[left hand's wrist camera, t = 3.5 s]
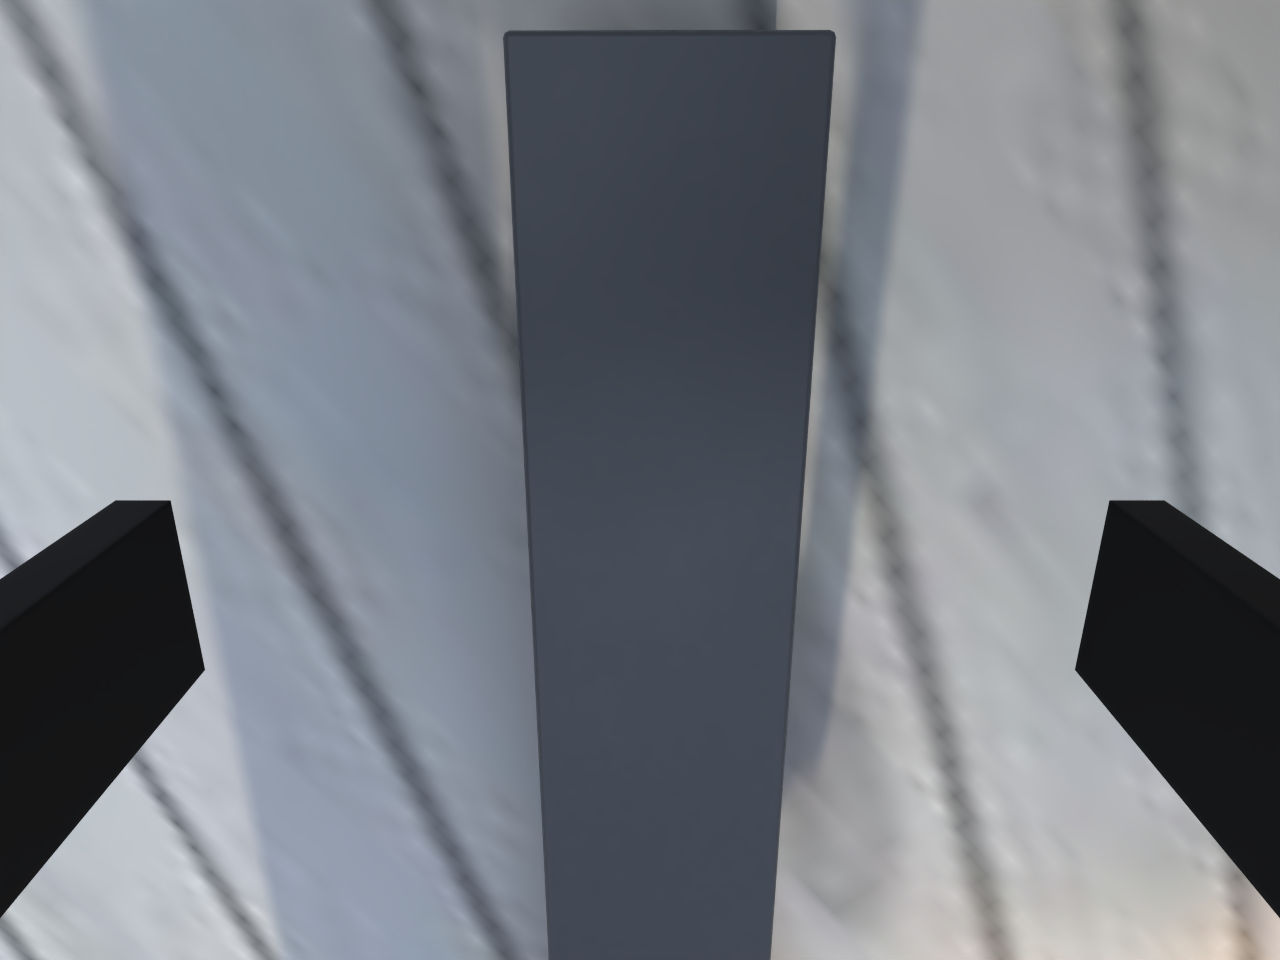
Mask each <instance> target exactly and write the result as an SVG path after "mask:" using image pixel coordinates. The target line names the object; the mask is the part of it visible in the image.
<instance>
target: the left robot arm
mask: <svg viewBox="0 0 1280 960" xmlns="http://www.w3.org/2000/svg"><path fill="white" fill-rule="evenodd" d="M204 670H205V668H204V663H203V658H202V653H201V648H200V643H199V638H198V633H197V628H196V623H195V619H194V614H193V609H192V604H191V599H190V594H189V589H188V584H187V579H186V574H185V569H184V565H183V560H182V555H181V550H180V545H179V540H178V535H177V530H176V525H175V520H174V515H173V511H172V506H171V501H114V502H113V503H111V504H110V505H108V506H107V507H105V508H104V509H103V510H101V511H100V512H98V513H97V514H95V515H94V516H92V517H91V518H89V519H88V520H86V521H85V522H83V523H82V524H81V525H79V526H78V527H76V528H75V529H73V530H72V531H70V532H69V533H67V534H66V535H64V536H63V537H62V538H60V539H59V540H57V541H56V542H54V543H53V544H51V545H50V546H48V547H47V548H45V549H44V550H42V551H41V552H40V553H38V554H37V555H35V556H34V557H32V558H31V559H29V560H28V561H26V562H25V563H23V564H22V565H21V566H19V567H18V568H16V569H15V570H13V571H12V572H10V573H9V574H7V575H6V576H4V577H3V578H1V579H0V918H1V916H2V915H3V914H4V913H5V912H6V910H7V909H8V908H9V907H10V905H11V904H12V903H13V902H14V901H15V899H16V898H17V897H18V896H19V895H20V893H21V892H22V891H23V890H24V889H25V887H26V886H27V885H28V884H29V882H30V881H31V880H32V879H33V878H34V876H35V875H36V874H37V873H38V872H39V870H40V869H41V868H42V867H43V865H44V864H45V863H46V862H47V861H48V859H49V858H50V857H51V856H52V855H53V853H54V852H55V851H56V850H57V849H58V847H59V846H60V845H61V844H62V842H63V841H64V840H65V839H66V838H67V836H68V835H69V834H70V833H71V832H72V830H73V829H74V828H75V827H76V825H77V824H78V823H79V822H80V821H81V819H82V818H83V817H84V816H85V815H86V813H87V812H88V811H89V810H90V809H91V807H92V806H93V805H94V804H95V802H96V801H97V800H98V799H99V798H100V796H101V795H102V794H103V793H104V792H105V790H106V789H107V788H108V787H109V785H110V784H111V783H112V782H113V781H114V779H115V778H116V777H117V776H118V775H119V773H120V772H121V771H122V770H123V769H124V767H125V766H126V765H127V764H128V762H129V761H130V760H131V759H132V758H133V756H134V755H135V754H136V753H137V752H138V750H139V749H140V748H141V747H142V745H143V744H144V743H145V742H146V741H147V739H148V738H149V737H150V736H151V735H152V733H153V732H154V731H155V730H156V729H157V727H158V726H159V725H160V724H161V722H162V721H163V720H164V719H165V718H166V716H167V715H168V714H169V713H170V712H171V710H172V709H173V708H174V707H175V705H176V704H177V703H178V702H179V701H180V699H181V698H182V697H183V696H184V695H185V693H186V692H187V691H188V690H189V689H190V687H191V686H192V685H193V684H194V682H195V681H196V680H197V679H198V678H199V676H200V675H201V674H202V673H203V672H204ZM1075 670H1076V672H1077V673H1078V674H1079V675H1080V676H1081V678H1082V679H1083V680H1084V681H1085V682H1086V684H1087V685H1088V686H1089V687H1090V689H1091V690H1092V691H1093V692H1094V693H1095V695H1096V696H1097V697H1098V698H1099V699H1100V701H1101V702H1102V703H1103V704H1104V706H1105V707H1106V708H1107V709H1108V710H1109V712H1110V713H1111V714H1112V715H1113V716H1114V718H1115V719H1116V720H1117V721H1118V722H1119V724H1120V725H1121V726H1122V727H1123V729H1124V730H1125V731H1126V732H1127V733H1128V735H1129V736H1130V737H1131V738H1132V739H1133V741H1134V742H1135V743H1136V744H1137V746H1138V747H1139V748H1140V749H1141V750H1142V752H1143V753H1144V754H1145V755H1146V756H1147V758H1148V759H1149V760H1150V761H1151V762H1152V764H1153V765H1154V766H1155V767H1156V769H1157V770H1158V771H1159V772H1160V773H1161V775H1162V776H1163V777H1164V778H1165V779H1166V781H1167V782H1168V783H1169V784H1170V786H1171V787H1172V788H1173V789H1174V790H1175V792H1176V793H1177V794H1178V795H1179V796H1180V798H1181V799H1182V800H1183V801H1184V802H1185V804H1186V805H1187V806H1188V807H1189V809H1190V810H1191V811H1192V812H1193V813H1194V815H1195V816H1196V817H1197V818H1198V819H1199V821H1200V822H1201V823H1202V824H1203V826H1204V827H1205V828H1206V829H1207V830H1208V832H1209V833H1210V834H1211V835H1212V836H1213V838H1214V839H1215V840H1216V841H1217V842H1218V844H1219V845H1220V846H1221V847H1222V849H1223V850H1224V851H1225V852H1226V853H1227V855H1228V856H1229V857H1230V858H1231V859H1232V861H1233V862H1234V863H1235V864H1236V866H1237V867H1238V868H1239V869H1240V870H1241V872H1242V873H1243V874H1244V875H1245V876H1246V878H1247V879H1248V880H1249V881H1250V882H1251V884H1252V885H1253V886H1254V887H1255V889H1256V890H1257V891H1258V892H1259V893H1260V895H1261V896H1262V897H1263V898H1264V899H1265V901H1266V902H1267V903H1268V904H1269V906H1270V907H1271V908H1272V909H1273V910H1274V912H1275V913H1276V914H1277V915H1278V916H1279V918H1280V579H1279V578H1277V577H1276V576H1274V575H1273V574H1271V573H1270V572H1268V571H1267V570H1265V569H1264V568H1262V567H1261V566H1259V565H1258V564H1257V563H1255V562H1254V561H1252V560H1251V559H1249V558H1248V557H1246V556H1245V555H1243V554H1242V553H1240V552H1239V551H1238V550H1236V549H1235V548H1233V547H1232V546H1230V545H1229V544H1227V543H1226V542H1224V541H1223V540H1221V539H1220V538H1218V537H1217V536H1216V535H1214V534H1213V533H1211V532H1210V531H1208V530H1207V529H1205V528H1204V527H1202V526H1201V525H1199V524H1198V523H1197V522H1195V521H1194V520H1192V519H1191V518H1189V517H1188V516H1186V515H1185V514H1183V513H1182V512H1180V511H1179V510H1177V509H1176V508H1175V507H1173V506H1172V505H1170V504H1169V503H1167V502H1166V501H1109V506H1108V510H1107V515H1106V520H1105V525H1104V530H1103V535H1102V540H1101V545H1100V550H1099V555H1098V560H1097V565H1096V569H1095V574H1094V579H1093V584H1092V589H1091V594H1090V599H1089V604H1088V609H1087V614H1086V619H1085V623H1084V628H1083V633H1082V638H1081V643H1080V648H1079V653H1078V658H1077V663H1076V668H1075Z"/></svg>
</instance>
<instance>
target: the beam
mask: <svg viewBox="0 0 1280 960" xmlns="http://www.w3.org/2000/svg"><path fill="white" fill-rule="evenodd" d="M503 41H504V61H505V82H506V102H507V122H508V142H509V162H510V183H511V203H512V223H513V243H514V263H515V284H516V304H517V324H518V344H519V365H520V385H521V405H522V425H523V445H524V466H525V486H526V506H527V526H528V546H529V567H530V587H531V607H532V627H533V647H534V668H535V688H536V708H537V728H538V748H539V769H540V789H541V809H542V829H543V849H544V870H545V890H546V910H547V930H548V950H549V960H770V958H771V944H772V930H773V916H774V902H775V888H776V874H777V860H778V846H779V832H780V818H781V803H782V789H783V775H784V761H785V747H786V733H787V719H788V705H789V691H790V677H791V663H792V649H793V635H794V621H795V606H796V592H797V578H798V564H799V550H800V536H801V522H802V508H803V494H804V480H805V466H806V452H807V438H808V424H809V409H810V395H811V381H812V367H813V353H814V339H815V325H816V311H817V297H818V283H819V269H820V255H821V241H822V227H823V212H824V198H825V184H826V170H827V156H828V142H829V128H830V114H831V100H832V86H833V72H834V58H835V44H836V36H835V33H834V32H833V31H831V30H605V31H508V32H506V33H505V34H504V38H503Z"/></svg>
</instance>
